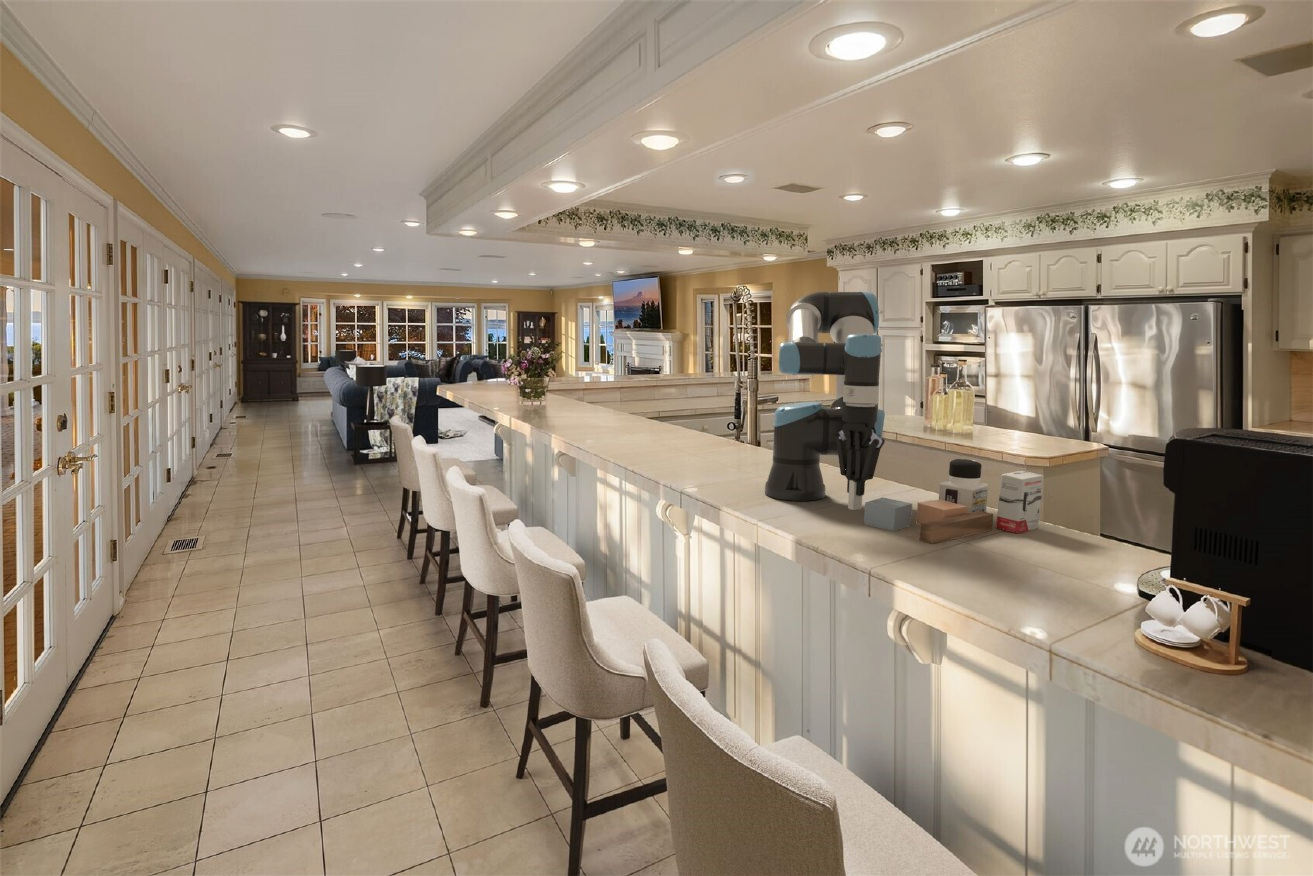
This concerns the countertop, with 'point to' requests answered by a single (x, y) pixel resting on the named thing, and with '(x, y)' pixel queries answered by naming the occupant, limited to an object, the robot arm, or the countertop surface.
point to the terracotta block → (938, 510)
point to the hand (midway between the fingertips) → (854, 508)
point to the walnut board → (955, 526)
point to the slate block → (887, 514)
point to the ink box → (1019, 501)
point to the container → (965, 485)
